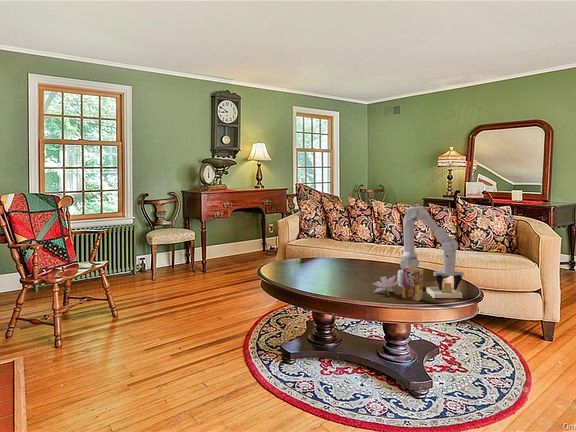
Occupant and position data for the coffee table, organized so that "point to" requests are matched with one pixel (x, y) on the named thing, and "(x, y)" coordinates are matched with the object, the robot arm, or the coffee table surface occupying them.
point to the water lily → (386, 284)
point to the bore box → (440, 293)
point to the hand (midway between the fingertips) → (447, 289)
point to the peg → (447, 288)
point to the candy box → (412, 283)
